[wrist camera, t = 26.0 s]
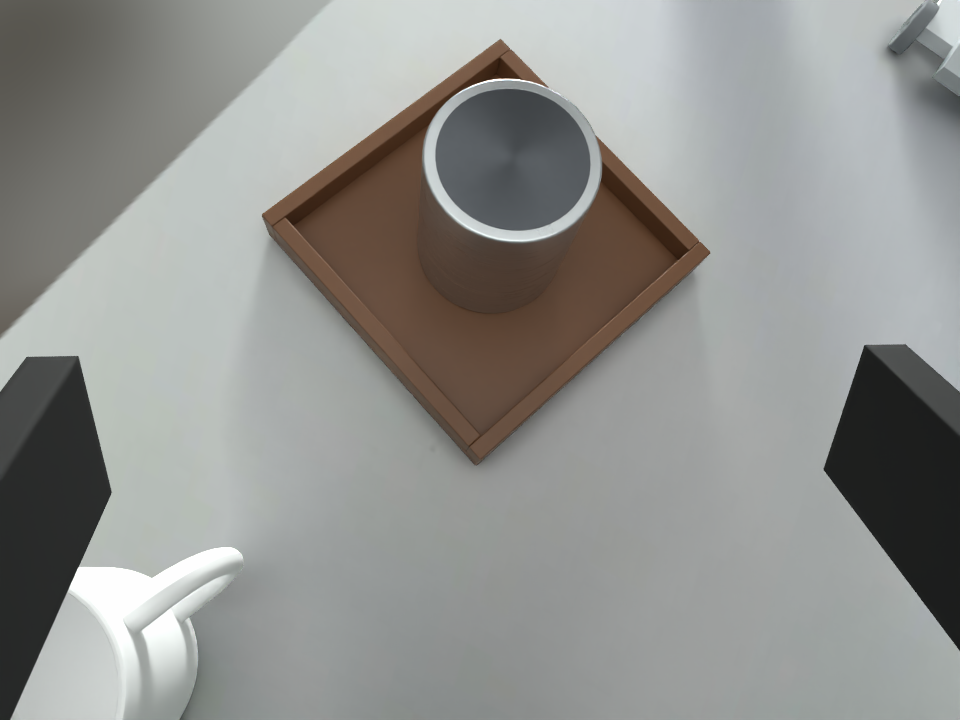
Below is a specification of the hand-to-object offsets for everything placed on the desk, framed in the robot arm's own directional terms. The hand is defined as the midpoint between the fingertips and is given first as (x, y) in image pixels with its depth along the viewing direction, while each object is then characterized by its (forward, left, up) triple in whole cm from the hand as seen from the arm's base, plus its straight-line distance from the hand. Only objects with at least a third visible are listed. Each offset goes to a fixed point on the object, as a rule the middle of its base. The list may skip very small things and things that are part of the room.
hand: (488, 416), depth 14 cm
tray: (-8, +11, -25) cm, 28 cm away
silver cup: (-8, +11, -24) cm, 27 cm away
